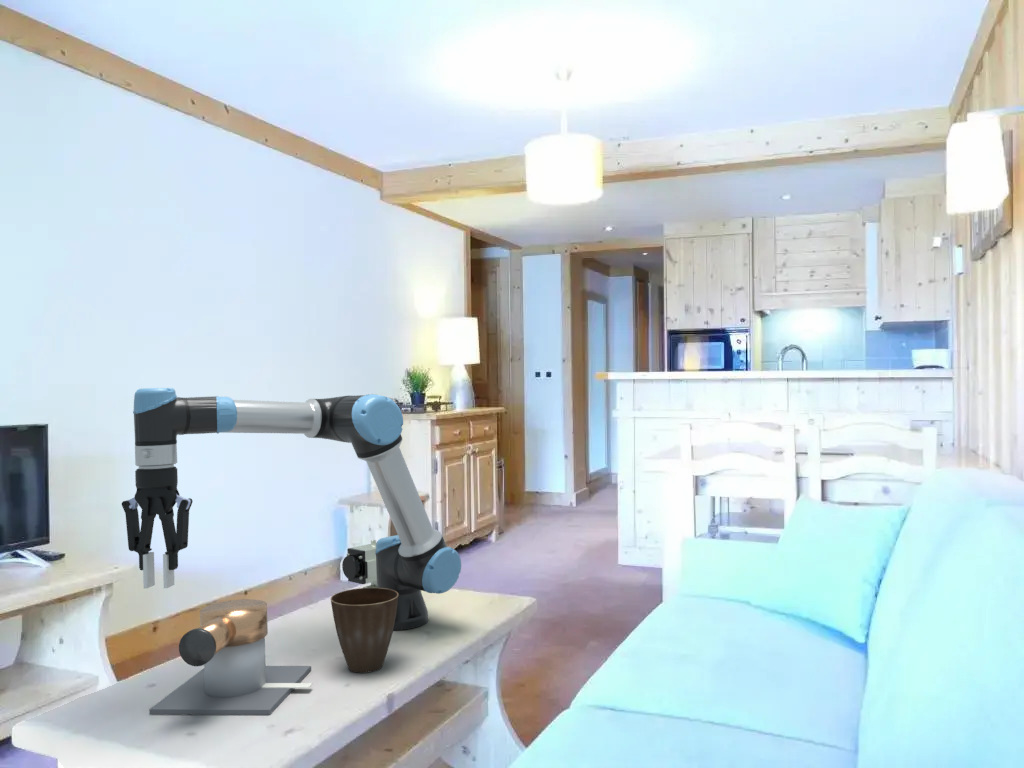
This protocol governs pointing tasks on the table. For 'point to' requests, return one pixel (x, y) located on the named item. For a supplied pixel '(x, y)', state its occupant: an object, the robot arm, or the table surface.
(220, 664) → the duct stub
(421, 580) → the robot arm
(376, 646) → the plant pot
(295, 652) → the table surface
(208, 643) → the copper flat bottle shape
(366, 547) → the ball valve
